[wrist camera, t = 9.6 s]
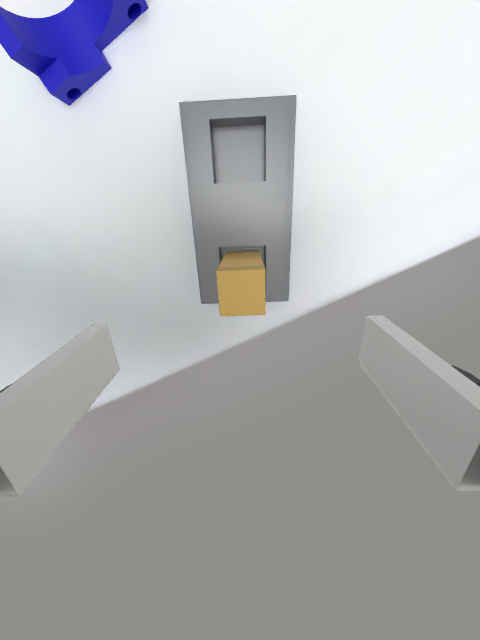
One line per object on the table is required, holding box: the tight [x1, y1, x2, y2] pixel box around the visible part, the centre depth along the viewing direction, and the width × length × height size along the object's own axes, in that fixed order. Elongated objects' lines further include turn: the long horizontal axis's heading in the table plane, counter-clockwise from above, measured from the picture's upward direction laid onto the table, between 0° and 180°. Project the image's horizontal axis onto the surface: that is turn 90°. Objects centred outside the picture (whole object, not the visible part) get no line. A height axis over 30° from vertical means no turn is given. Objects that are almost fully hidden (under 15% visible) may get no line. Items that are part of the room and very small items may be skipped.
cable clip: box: [0, 0, 148, 106], centre depth 22 cm, size 12×4×6 cm, turn 120°
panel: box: [179, 95, 296, 304], centre depth 29 cm, size 12×22×4 cm, turn 2°
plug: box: [216, 250, 265, 316], centre depth 26 cm, size 4×4×12 cm
